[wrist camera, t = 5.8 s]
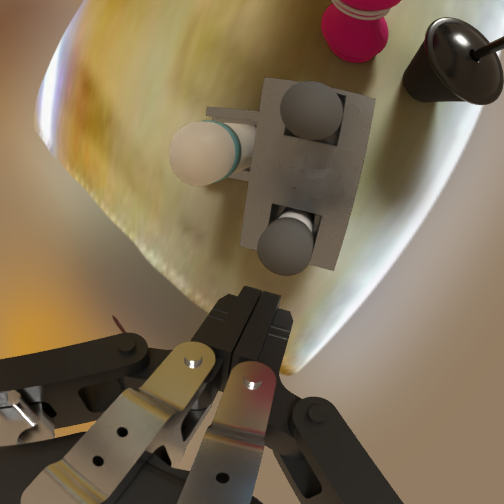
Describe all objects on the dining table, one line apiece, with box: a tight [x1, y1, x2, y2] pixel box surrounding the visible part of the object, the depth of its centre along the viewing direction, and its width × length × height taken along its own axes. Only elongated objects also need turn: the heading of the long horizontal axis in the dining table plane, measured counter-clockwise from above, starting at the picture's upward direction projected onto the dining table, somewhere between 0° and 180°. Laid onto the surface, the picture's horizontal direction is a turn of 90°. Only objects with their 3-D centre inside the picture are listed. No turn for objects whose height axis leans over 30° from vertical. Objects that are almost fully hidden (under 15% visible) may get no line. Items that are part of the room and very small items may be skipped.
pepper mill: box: [321, 0, 401, 63], centre depth 14 cm, size 7×7×20 cm
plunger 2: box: [257, 207, 315, 276], centre depth 18 cm, size 3×3×6 cm
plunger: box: [280, 81, 343, 140], centre depth 15 cm, size 3×3×6 cm
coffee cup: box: [169, 121, 257, 186], centre depth 25 cm, size 5×5×14 cm
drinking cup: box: [403, 17, 504, 105], centre depth 14 cm, size 8×8×20 cm
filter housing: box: [206, 77, 375, 271], centre depth 24 cm, size 12×17×16 cm
